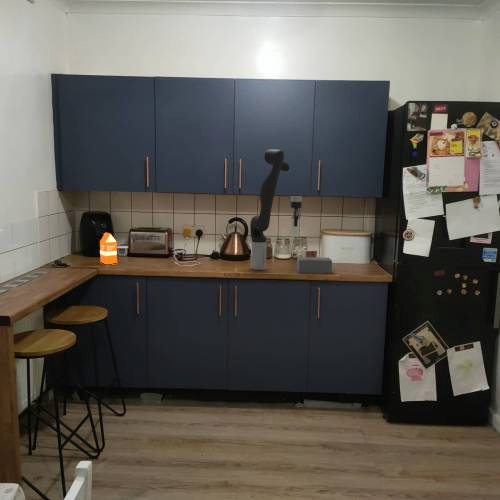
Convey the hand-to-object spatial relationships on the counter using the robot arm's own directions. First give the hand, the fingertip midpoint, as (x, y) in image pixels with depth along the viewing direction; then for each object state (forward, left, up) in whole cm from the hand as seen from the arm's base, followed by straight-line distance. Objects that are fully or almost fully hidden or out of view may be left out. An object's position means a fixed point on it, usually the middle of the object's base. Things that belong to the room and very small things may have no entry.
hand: (295, 226), depth 315 cm
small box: (+8, -16, -25) cm, 31 cm away
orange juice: (-123, -17, -25) cm, 127 cm away
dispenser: (+8, -35, -24) cm, 43 cm away
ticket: (0, 0, -7) cm, 7 cm away
